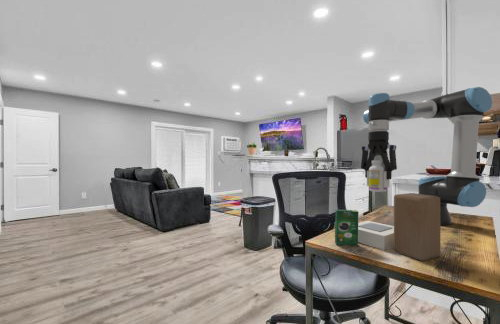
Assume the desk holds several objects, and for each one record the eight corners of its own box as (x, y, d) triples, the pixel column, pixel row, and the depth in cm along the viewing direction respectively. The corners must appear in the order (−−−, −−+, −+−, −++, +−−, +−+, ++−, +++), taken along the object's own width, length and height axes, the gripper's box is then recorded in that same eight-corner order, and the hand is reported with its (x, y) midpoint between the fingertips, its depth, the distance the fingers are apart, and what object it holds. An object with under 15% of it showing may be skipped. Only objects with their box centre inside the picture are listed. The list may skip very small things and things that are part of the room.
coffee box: (356, 243, 93) (356, 209, 93) (358, 246, 90) (358, 210, 90) (334, 242, 94) (334, 208, 94) (336, 245, 91) (336, 210, 91)
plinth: (367, 231, 108) (367, 219, 108) (406, 241, 95) (406, 228, 95) (344, 238, 100) (344, 225, 100) (384, 250, 86) (384, 235, 86)
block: (422, 262, 76) (422, 198, 76) (392, 251, 85) (392, 194, 85) (441, 257, 80) (441, 196, 80) (411, 247, 89) (411, 192, 89)
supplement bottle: (382, 190, 105) (383, 160, 105) (389, 192, 98) (390, 160, 98) (366, 190, 106) (366, 160, 106) (372, 192, 99) (372, 160, 99)
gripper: (352, 133, 108) (351, 184, 108) (398, 128, 92) (397, 189, 92) (362, 134, 112) (361, 184, 112) (408, 129, 96) (407, 188, 96)
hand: (377, 186), depth 102 cm, fingers closed on supplement bottle, 7 cm apart
